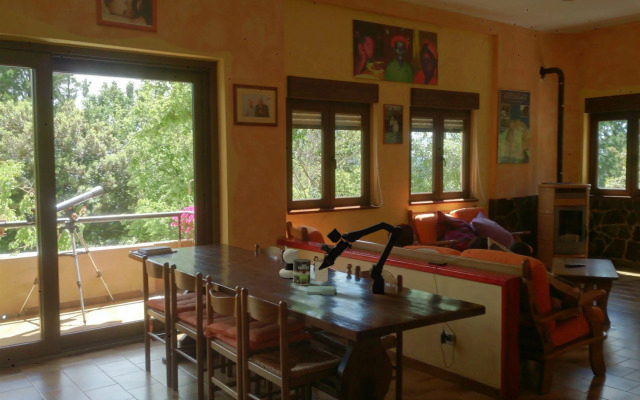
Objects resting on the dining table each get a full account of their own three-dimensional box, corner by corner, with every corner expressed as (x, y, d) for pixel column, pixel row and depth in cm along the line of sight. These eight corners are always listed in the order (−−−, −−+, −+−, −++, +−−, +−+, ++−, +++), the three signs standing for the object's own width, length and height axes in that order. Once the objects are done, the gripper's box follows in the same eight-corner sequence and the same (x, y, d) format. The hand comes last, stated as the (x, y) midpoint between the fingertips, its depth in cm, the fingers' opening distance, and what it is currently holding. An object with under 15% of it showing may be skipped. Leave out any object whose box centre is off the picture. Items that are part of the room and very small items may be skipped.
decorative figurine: (306, 276, 368) (307, 244, 367) (296, 280, 355) (296, 247, 354) (286, 273, 374) (286, 243, 373) (275, 277, 361) (275, 245, 360)
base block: (334, 289, 331) (334, 286, 331) (334, 295, 317) (334, 292, 316) (308, 289, 332) (308, 285, 332) (306, 295, 317) (307, 291, 317)
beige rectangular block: (327, 279, 327) (327, 258, 326) (327, 281, 320) (327, 260, 319) (315, 279, 327) (315, 258, 327) (314, 281, 320) (314, 260, 320)
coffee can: (312, 285, 341) (312, 261, 340) (295, 285, 338) (295, 261, 337) (308, 281, 351) (308, 258, 350) (291, 282, 348) (291, 258, 347)
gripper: (329, 236, 331) (309, 255, 332) (328, 240, 313) (307, 261, 314) (342, 250, 332) (323, 269, 333) (342, 255, 313) (322, 275, 314)
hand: (318, 268), depth 323 cm, fingers closed on beige rectangular block, 7 cm apart
